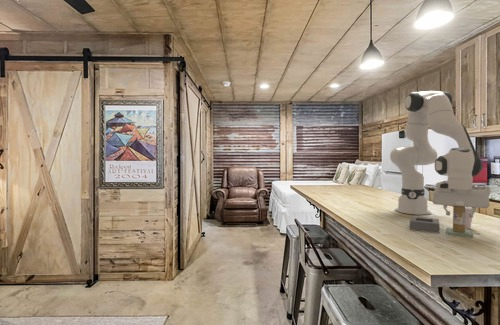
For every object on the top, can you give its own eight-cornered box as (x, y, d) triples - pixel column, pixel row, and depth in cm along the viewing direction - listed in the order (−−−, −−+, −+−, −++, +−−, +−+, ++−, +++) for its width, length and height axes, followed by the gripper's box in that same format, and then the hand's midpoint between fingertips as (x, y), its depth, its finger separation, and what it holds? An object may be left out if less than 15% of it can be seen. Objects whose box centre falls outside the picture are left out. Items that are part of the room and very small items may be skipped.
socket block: (410, 224, 142) (411, 216, 142) (438, 227, 136) (438, 218, 136) (409, 229, 133) (410, 221, 132) (439, 233, 127) (439, 224, 127)
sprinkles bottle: (450, 230, 127) (450, 200, 127) (456, 229, 129) (456, 199, 129) (461, 233, 123) (462, 201, 123) (467, 231, 125) (468, 201, 125)
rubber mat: (445, 229, 132) (445, 227, 132) (470, 232, 128) (470, 230, 127) (447, 234, 125) (447, 232, 124) (473, 237, 120) (473, 235, 120)
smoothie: (477, 229, 132) (477, 199, 131) (461, 229, 133) (462, 199, 132) (469, 226, 138) (470, 197, 137) (454, 225, 139) (455, 197, 139)
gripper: (489, 185, 123) (488, 217, 123) (432, 183, 133) (431, 212, 134) (492, 187, 117) (491, 220, 118) (432, 184, 128) (432, 215, 128)
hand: (459, 216), depth 126 cm, fingers open, 7 cm apart
